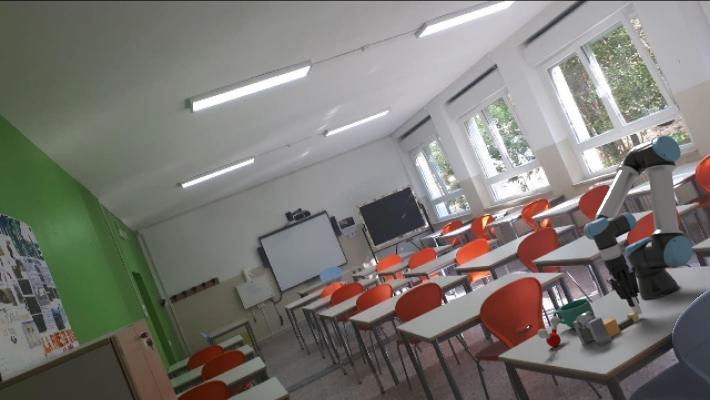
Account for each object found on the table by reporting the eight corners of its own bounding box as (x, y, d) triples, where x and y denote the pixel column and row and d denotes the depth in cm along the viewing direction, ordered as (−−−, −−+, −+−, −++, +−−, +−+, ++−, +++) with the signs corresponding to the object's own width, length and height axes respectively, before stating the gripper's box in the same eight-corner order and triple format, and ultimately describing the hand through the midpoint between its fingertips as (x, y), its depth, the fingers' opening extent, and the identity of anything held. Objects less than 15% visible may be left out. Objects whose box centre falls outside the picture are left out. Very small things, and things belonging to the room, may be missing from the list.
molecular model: (555, 353, 222) (544, 329, 223) (542, 356, 226) (531, 332, 226) (569, 336, 236) (559, 313, 236) (557, 339, 239) (547, 316, 240)
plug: (633, 319, 223) (627, 307, 224) (641, 319, 219) (635, 307, 219) (600, 337, 219) (595, 325, 219) (608, 338, 214) (602, 325, 215)
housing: (592, 338, 221) (579, 310, 222) (611, 340, 211) (597, 311, 212) (582, 344, 220) (569, 316, 221) (600, 346, 209) (587, 316, 210)
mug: (601, 316, 244) (592, 296, 244) (591, 328, 234) (582, 306, 235) (566, 324, 255) (557, 304, 256) (555, 335, 246) (546, 314, 246)
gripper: (619, 251, 229) (644, 306, 227) (593, 264, 225) (619, 320, 223) (632, 249, 222) (658, 306, 220) (606, 262, 218) (632, 320, 216)
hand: (638, 313), depth 222 cm, fingers closed
